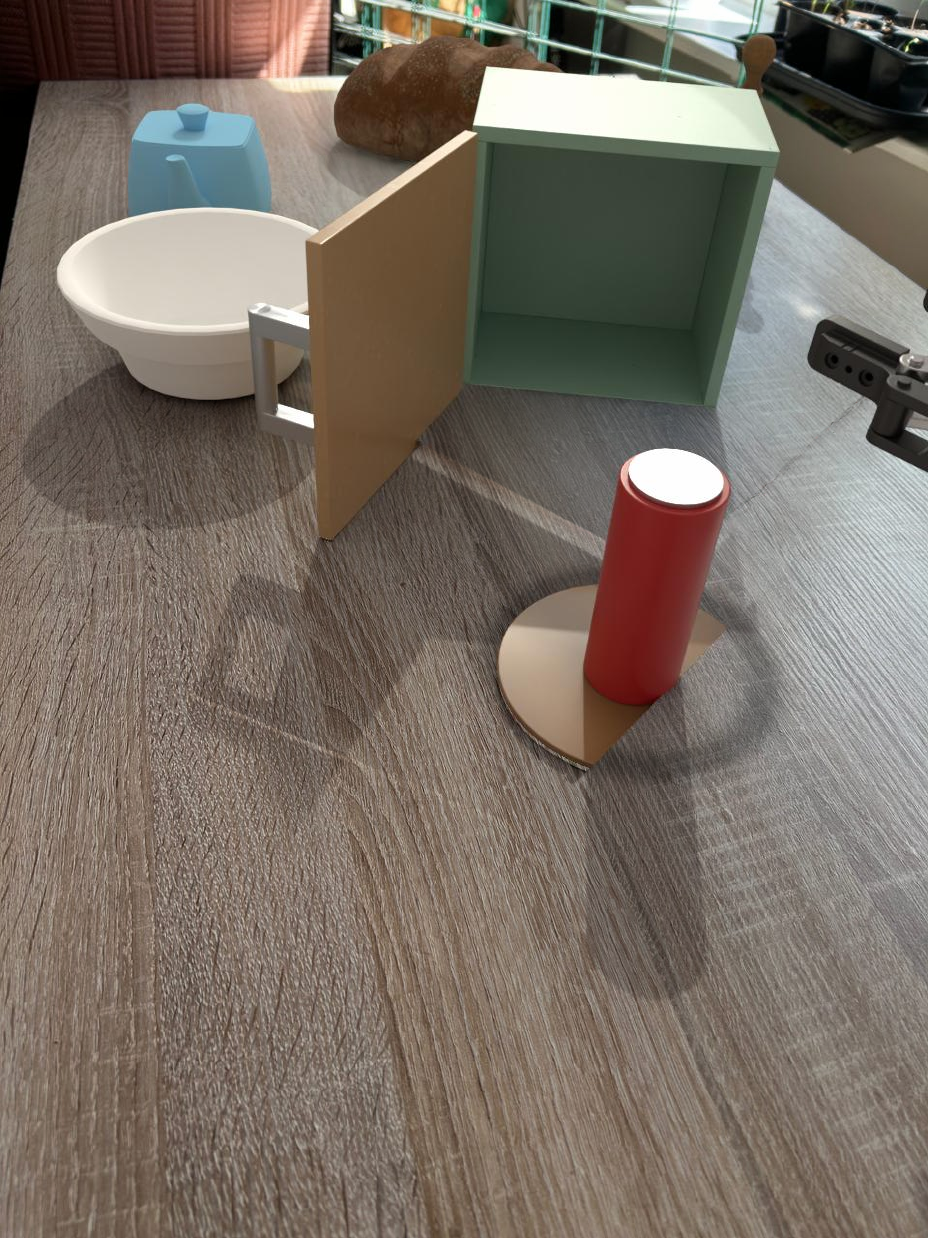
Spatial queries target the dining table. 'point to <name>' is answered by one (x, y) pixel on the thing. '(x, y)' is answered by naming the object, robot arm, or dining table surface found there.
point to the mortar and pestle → (757, 60)
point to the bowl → (189, 294)
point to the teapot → (197, 162)
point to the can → (653, 573)
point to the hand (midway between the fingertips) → (877, 309)
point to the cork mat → (571, 675)
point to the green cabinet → (612, 233)
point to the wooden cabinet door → (376, 329)
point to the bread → (420, 94)
